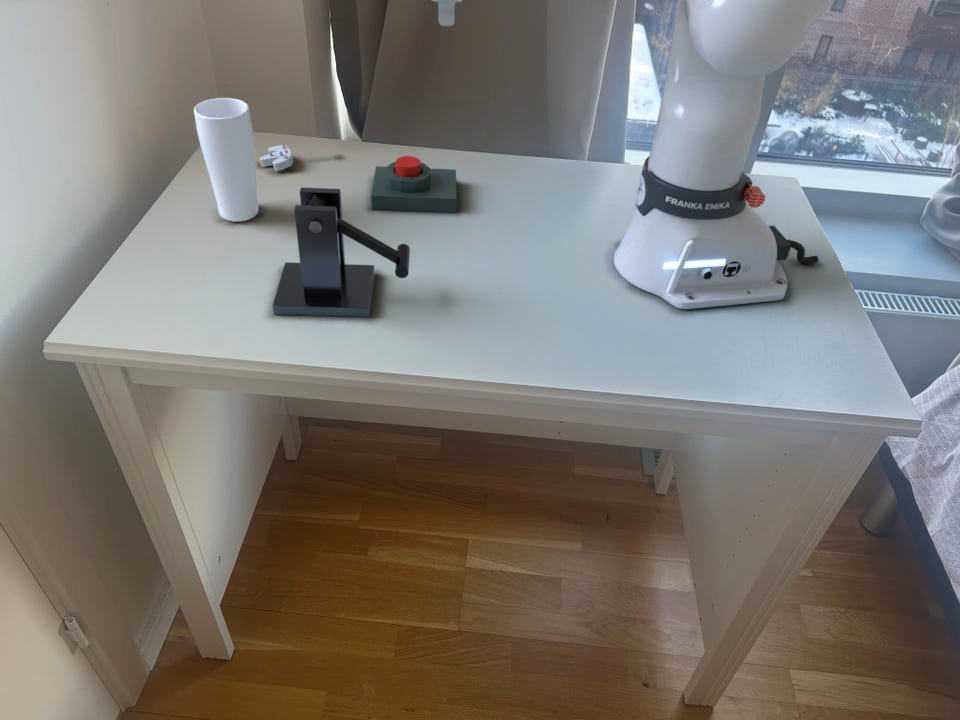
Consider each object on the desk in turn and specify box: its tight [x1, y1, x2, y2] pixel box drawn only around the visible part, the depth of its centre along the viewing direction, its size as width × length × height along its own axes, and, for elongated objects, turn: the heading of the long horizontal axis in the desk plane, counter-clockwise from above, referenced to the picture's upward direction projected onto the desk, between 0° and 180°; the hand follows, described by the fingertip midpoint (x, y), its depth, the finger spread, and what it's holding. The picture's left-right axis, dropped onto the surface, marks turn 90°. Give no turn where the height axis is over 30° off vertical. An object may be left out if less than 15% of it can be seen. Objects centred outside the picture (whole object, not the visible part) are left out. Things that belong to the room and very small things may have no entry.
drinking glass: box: [193, 97, 260, 223], centre depth 98 cm, size 7×7×15 cm
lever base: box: [272, 186, 375, 318], centre depth 86 cm, size 11×9×13 cm
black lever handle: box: [307, 195, 411, 279], centre depth 85 cm, size 13×5×2 cm
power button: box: [395, 155, 422, 177], centre depth 106 cm, size 4×4×2 cm
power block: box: [370, 161, 458, 213], centre depth 108 cm, size 12×9×4 cm
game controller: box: [259, 143, 338, 172], centre depth 115 cm, size 6×12×3 cm, turn 129°
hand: (446, 22), depth 86 cm, fingers closed
